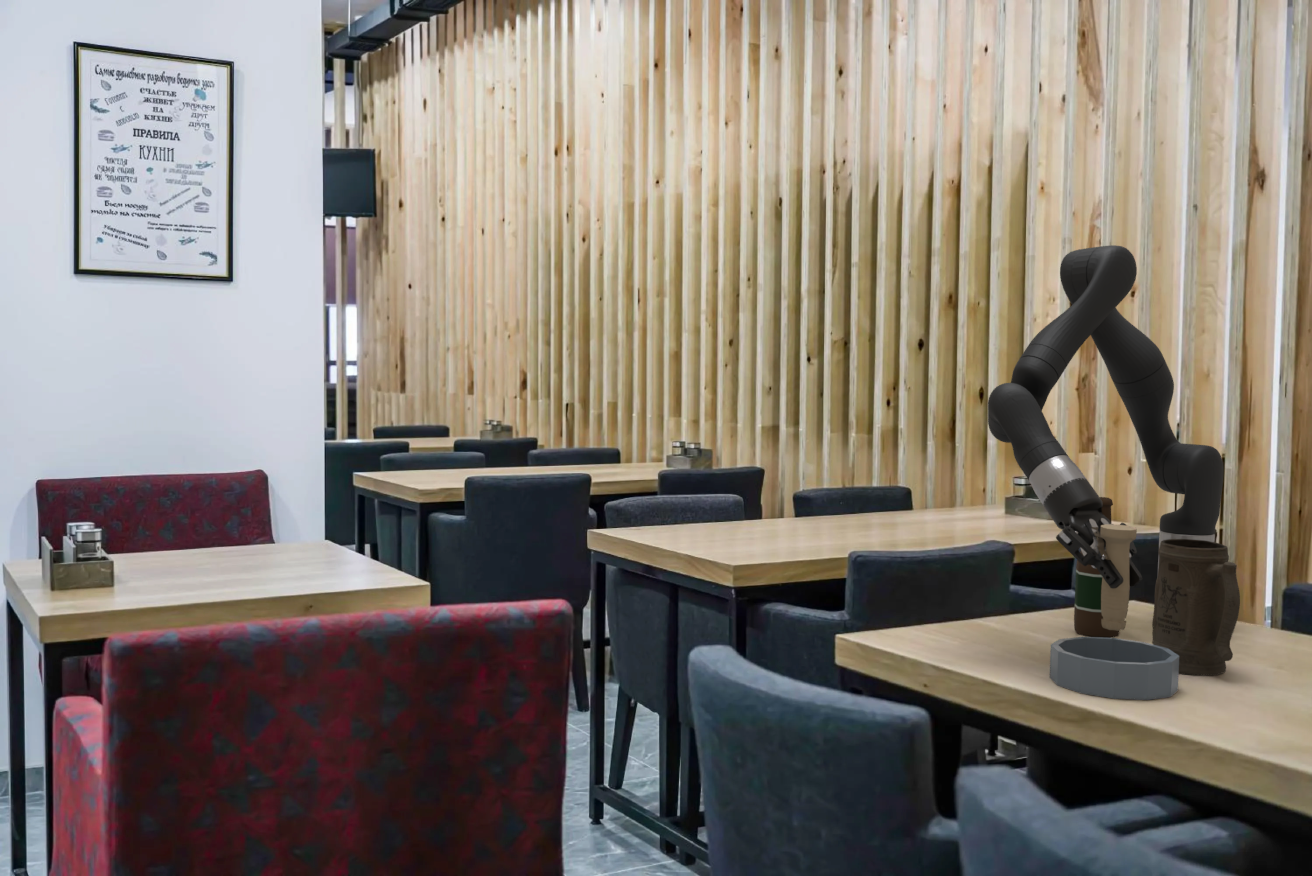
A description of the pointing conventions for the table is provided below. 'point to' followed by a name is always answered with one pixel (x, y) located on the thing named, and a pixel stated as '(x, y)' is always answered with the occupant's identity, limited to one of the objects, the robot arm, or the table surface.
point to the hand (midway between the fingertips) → (1127, 583)
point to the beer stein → (1196, 604)
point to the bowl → (1114, 668)
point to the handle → (1118, 553)
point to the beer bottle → (1090, 594)
